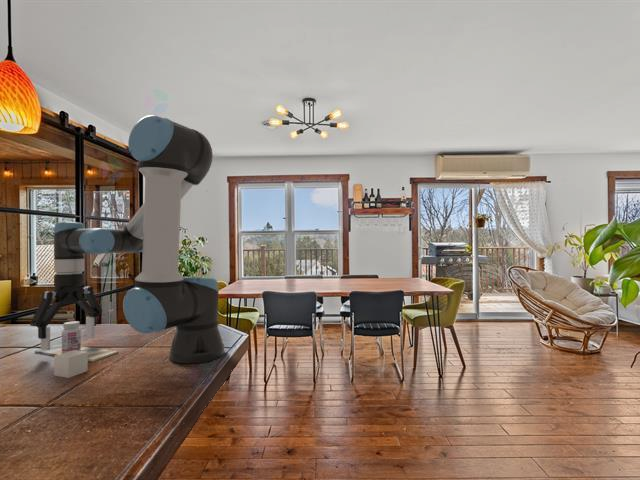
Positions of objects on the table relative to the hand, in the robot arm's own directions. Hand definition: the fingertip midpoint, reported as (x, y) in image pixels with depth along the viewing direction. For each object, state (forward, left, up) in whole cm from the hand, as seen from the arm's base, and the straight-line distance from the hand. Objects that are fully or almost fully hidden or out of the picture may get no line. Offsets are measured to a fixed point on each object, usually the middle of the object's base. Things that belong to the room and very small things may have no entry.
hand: (69, 343), depth 108 cm
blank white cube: (-18, +12, -3) cm, 22 cm away
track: (-3, 0, -3) cm, 4 cm away
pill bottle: (-1, 0, -2) cm, 3 cm away
